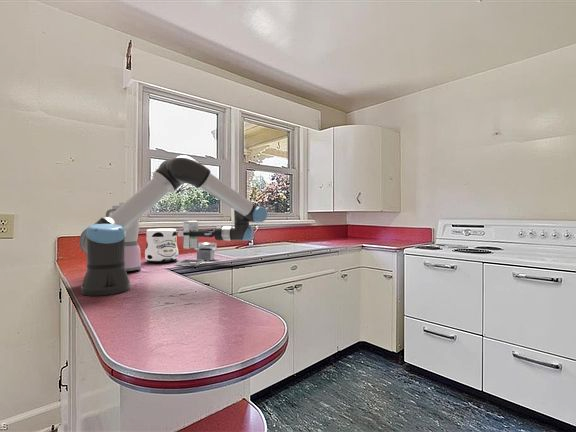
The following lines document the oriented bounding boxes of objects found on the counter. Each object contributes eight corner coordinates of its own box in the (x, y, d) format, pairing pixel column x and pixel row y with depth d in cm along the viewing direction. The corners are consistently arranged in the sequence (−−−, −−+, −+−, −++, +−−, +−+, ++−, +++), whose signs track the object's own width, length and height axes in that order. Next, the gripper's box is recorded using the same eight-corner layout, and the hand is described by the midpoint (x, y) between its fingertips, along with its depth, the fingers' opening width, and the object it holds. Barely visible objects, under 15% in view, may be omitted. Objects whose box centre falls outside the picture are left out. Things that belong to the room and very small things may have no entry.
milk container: (168, 264, 166) (168, 230, 166) (138, 264, 169) (137, 230, 169) (184, 259, 184) (183, 228, 183) (156, 259, 186) (156, 228, 186)
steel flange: (196, 266, 162) (196, 263, 162) (174, 265, 163) (174, 262, 163) (205, 262, 174) (205, 259, 174) (184, 262, 175) (184, 259, 175)
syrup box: (192, 247, 172) (191, 220, 172) (198, 248, 169) (198, 220, 168) (182, 248, 168) (182, 220, 168) (189, 249, 164) (188, 221, 164)
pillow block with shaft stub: (214, 261, 178) (213, 243, 178) (193, 260, 180) (193, 243, 179) (217, 259, 184) (217, 242, 184) (197, 259, 186) (197, 242, 185)
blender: (129, 268, 157) (129, 203, 156) (146, 270, 151) (146, 202, 150) (98, 273, 143) (97, 202, 142) (115, 276, 137) (114, 202, 136)
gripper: (217, 242, 156) (172, 242, 159) (229, 238, 176) (189, 238, 179) (217, 227, 156) (172, 227, 158) (229, 225, 176) (189, 224, 179)
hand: (181, 233), depth 169 cm, fingers closed on syrup box, 7 cm apart
